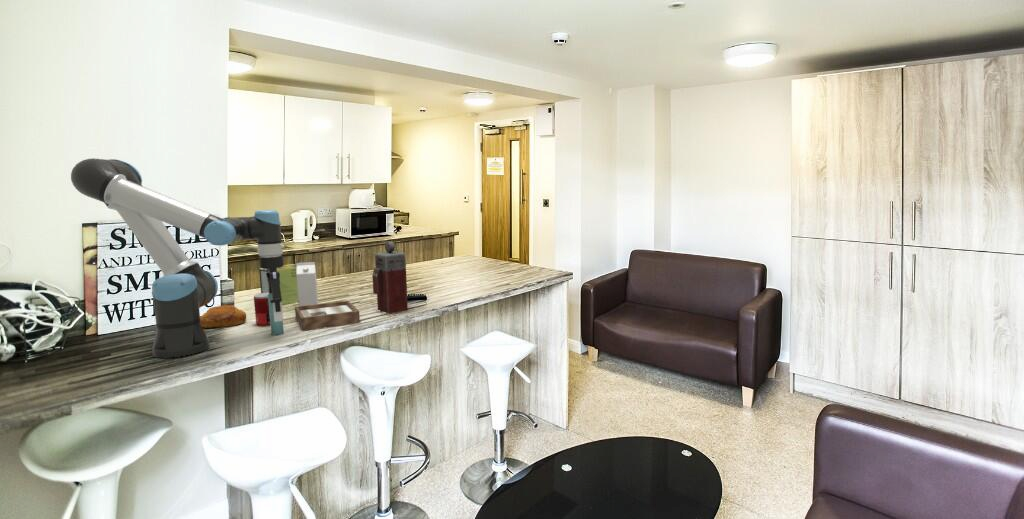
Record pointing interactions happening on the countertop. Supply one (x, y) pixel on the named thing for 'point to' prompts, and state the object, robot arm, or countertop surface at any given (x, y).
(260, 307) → the canned food
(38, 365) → the countertop surface
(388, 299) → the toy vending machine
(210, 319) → the croissant
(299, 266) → the milk carton
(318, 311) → the box
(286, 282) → the protein box
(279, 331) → the peg
